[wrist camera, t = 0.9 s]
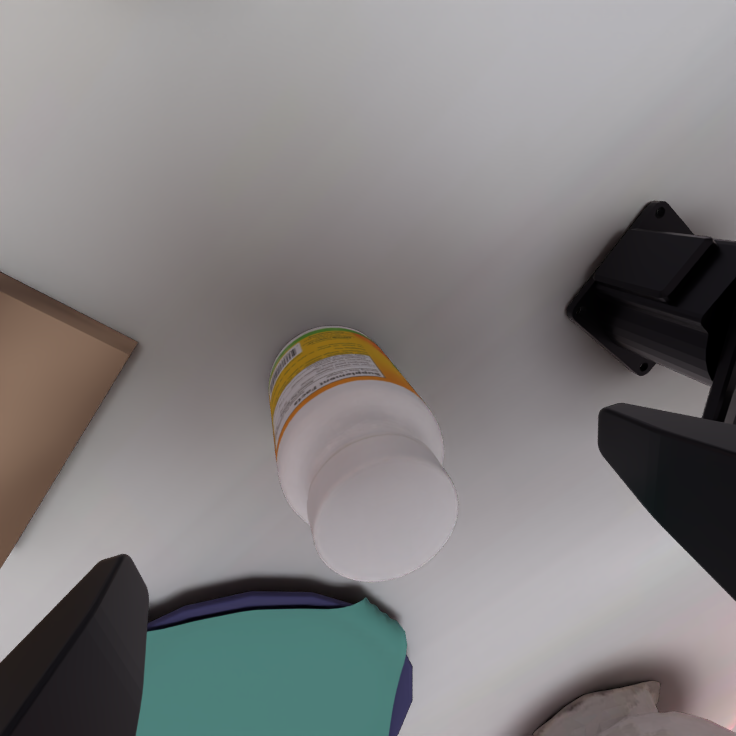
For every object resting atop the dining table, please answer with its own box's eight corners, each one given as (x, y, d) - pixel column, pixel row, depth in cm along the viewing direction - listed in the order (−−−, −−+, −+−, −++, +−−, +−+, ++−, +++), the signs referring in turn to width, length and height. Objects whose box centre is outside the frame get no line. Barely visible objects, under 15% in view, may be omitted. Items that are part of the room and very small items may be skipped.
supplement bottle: (392, 418, 22) (487, 571, 13) (281, 444, 21) (306, 627, 13) (379, 311, 20) (482, 411, 11) (255, 335, 19) (263, 464, 10)
